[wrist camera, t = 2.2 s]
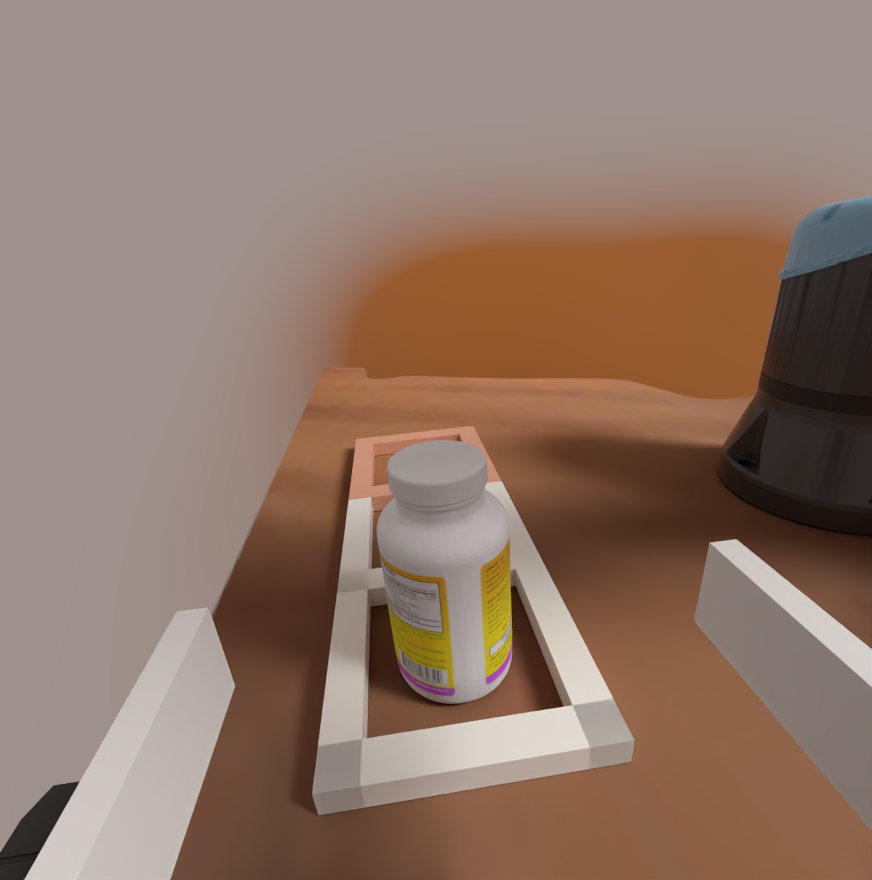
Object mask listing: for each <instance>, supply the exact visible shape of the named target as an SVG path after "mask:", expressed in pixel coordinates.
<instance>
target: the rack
mask: <svg viewBox="0 0 872 880" xmlns="http://www.w3.org/2000/svg"><path fill="white" fill-rule="evenodd" d="M435 440H452V441H461V442H465V443H468V444H471V445H474V446H476V447H477V448H479V449H480V450H481V451H482V452H483V453H484V454H485V457H486V463H487V476H488V479H487V483H486V486H485V490H487V491H489V492H490V493H492V494H493V495H494V496H495V497H496V498H497V499H498V500H499V501H500V502H501V503H502V505H503V506H504V508H505V510H506V512H507V515H508V520H509V532H510V576H511V587H514V586H516V588H517V590H518V593H519V595H520V598H521V601H522V603H523V606H524V608H525V611H526V613H527V616H528V618H529V621H530V623H531V626H532V628H533V631H534V633H535V636H536V638H537V641H538V643H539V646H540V648H541V651H542V653H543V656H544V659H545V661H546V664H547V666H548V669H549V671H550V674H551V676H552V679H553V681H554V684H555V686H556V689H557V691H558V694H559V696H560V699H561V701H562V704H563V706H564V707H559V708H553V709H546V710H540V711H534V712H528V713H522V714H515V715H509V716H503V717H497V718H490V719H484V720H478V721H472V722H466V723H459V724H453V725H447V726H441V727H435V728H428V729H422V730H416V731H410V732H403V733H397V734H391V735H385V736H379V737H372V738H367V718H368V681H369V645H370V608H371V606H378V605H385V604H388V603H387V597H386V590H385V584H384V578H383V572H382V568H375V569H372V535H373V511H380V510H383V509H384V508H385V506H386V505H387V504H388V503H389V502H390V501H391V500H392V499H393V498H394V496H393V494H392V493H391V491H390V489H389V484H388V485H379V486H374V461H375V456H378V455H386V454H395V453H397V452H398V451H400V450H401V449H404V448H406V447H409V446H411V445H414V444H418V443H422V442H427V441H435ZM633 746H634V738H633V736H632V734H631V733H630V731H629V729H628V727H627V725H626V723H625V721H624V719H623V717H622V715H621V713H620V711H619V709H618V707H617V705H616V703H615V701H614V699H613V697H612V695H611V694H610V692H609V690H608V688H607V686H606V684H605V682H604V680H603V678H602V676H601V674H600V672H599V670H598V668H597V666H596V664H595V662H594V660H593V658H592V657H591V655H590V653H589V651H588V649H587V647H586V645H585V643H584V641H583V639H582V637H581V635H580V633H579V631H578V629H577V627H576V625H575V623H574V621H573V619H572V618H571V616H570V614H569V612H568V610H567V608H566V606H565V604H564V602H563V600H562V598H561V596H560V594H559V592H558V590H557V588H556V586H555V584H554V582H553V580H552V579H551V577H550V575H549V573H548V571H547V569H546V567H545V565H544V563H543V561H542V559H541V557H540V555H539V553H538V551H537V549H536V547H535V545H534V543H533V541H532V540H531V538H530V536H529V534H528V532H527V530H526V528H525V526H524V524H523V522H522V520H521V518H520V516H519V514H518V512H517V510H516V508H515V506H514V504H513V502H512V501H511V499H510V497H509V495H508V493H507V491H506V489H505V487H504V485H503V483H502V481H501V479H500V477H499V475H498V473H497V471H496V469H495V467H494V465H493V463H492V462H491V460H490V458H489V456H488V454H487V452H486V450H485V448H484V446H483V444H482V442H481V440H480V438H479V436H478V434H477V432H476V430H475V428H474V426H468V427H459V428H451V429H442V430H433V431H424V432H415V433H407V434H398V435H389V436H380V437H371V438H363V439H356V445H355V453H354V461H353V469H352V477H351V485H350V493H349V501H348V509H347V517H346V525H345V533H344V541H343V549H342V557H341V565H340V573H339V581H338V589H337V597H336V605H335V614H334V622H333V630H332V638H331V646H330V654H329V662H328V670H327V678H326V686H325V694H324V702H323V710H322V718H321V726H320V734H319V742H318V750H317V758H316V766H315V774H314V782H313V790H312V796H313V799H314V803H315V806H316V809H317V813H318V816H319V815H324V814H330V813H336V812H342V811H348V810H353V809H359V808H365V807H371V806H377V805H383V804H388V803H394V802H400V801H406V800H412V799H417V798H423V797H429V796H435V795H441V794H447V793H452V792H458V791H464V790H470V789H476V788H481V787H487V786H493V785H499V784H505V783H511V782H516V781H522V780H528V779H534V778H540V777H546V776H551V775H557V774H563V773H569V772H575V771H580V770H586V769H592V768H598V767H604V766H610V765H615V764H621V763H627V762H631V760H632V753H633Z"/></svg>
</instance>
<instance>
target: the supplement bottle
mask: <svg viewBox="0 0 872 880" xmlns="http://www.w3.org/2000/svg"><path fill="white" fill-rule="evenodd" d="M387 471H388V479H389V489H390V491H391V493H392V494H393V496H394V498H393V499H392V500H391V501H390V502H389V503H388V504H387V505H386V506H385V508H384V509H383V511H382V513H381V515H380V517H379V520H378V523H377V540H378V548H379V554H380V560H381V566H382V572H383V578H384V584H385V590H386V597H387V603H388V609H389V615H390V622H391V627H392V633H393V639H394V645H395V651H396V656H397V661H398V665H399V668H400V671H401V673H402V675H403V677H404V679H405V680H406V682H407V683H408V684H409V685H410V686H411V687H412V688H413V689H414V690H415V691H416V692H417V693H419V694H420V695H422V696H424V697H426V698H428V699H430V700H433V701H436V702H440V703H446V704H459V703H466V702H470V701H473V700H476V699H479V698H481V697H483V696H485V695H487V694H488V693H490V692H491V691H493V690H494V689H495V688H496V687H497V686H498V685H499V684H500V683H501V681H502V680H503V679H504V677H505V676H506V674H507V672H508V669H509V667H510V663H511V659H512V614H511V576H510V532H509V520H508V515H507V512H506V510H505V508H504V506H503V505H502V503H501V502H500V501H499V500H498V499H497V498H496V497H495V496H494V495H493V494H492V493H490V492H489V491H487V490H485V486H486V483H487V479H488V476H487V463H486V457H485V454H484V453H483V452H482V451H481V450H480V449H479V448H477V447H476V446H474V445H471V444H468V443H465V442H461V441H452V440H435V441H427V442H422V443H418V444H414V445H411V446H409V447H406V448H404V449H401V450H400V451H398V452H397V453H395V454H394V455H393V456H392V457H391V458H390V460H389V462H388V465H387Z"/></svg>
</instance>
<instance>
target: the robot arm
mask: <svg viewBox="0 0 872 880" xmlns="http://www.w3.org/2000/svg"><path fill="white" fill-rule="evenodd" d="M778 279H782V282H781V286H780V290H779V295H778V299H777V304H776V308H775V312H774V317H773V322H772V326H771V330H770V335H769V339H768V344H767V348H766V352H765V357H764V361H763V365H762V371H761V375H760V380H759V384H758V388H757V392H756V394H755V396H754V398H753V399H752V401H751V402H750V404H749V405H748V407H747V409H746V410H745V412H744V413H743V415H742V416H741V418H740V419H739V421H738V423H737V424H736V426H735V427H734V429H733V430H732V432H731V433H730V435H729V437H728V438H727V440H726V441H725V443H724V445H723V447H722V450H721V455H720V460H719V465H718V473H719V476H720V478H721V480H722V481H723V482H724V484H725V485H726V486H727V487H728V488H729V489H730V490H732V491H733V492H734V493H736V494H737V495H738V496H740V497H741V498H743V499H745V500H746V501H748V502H750V503H752V504H754V505H756V506H758V507H760V508H762V509H764V510H767V511H769V512H772V513H774V514H777V515H779V516H782V517H785V518H788V519H791V520H794V521H798V522H801V523H805V524H808V525H812V526H816V527H821V528H825V529H830V530H836V531H842V532H848V533H856V534H866V535H872V196H868V197H862V198H857V199H852V200H847V201H843V202H838V203H833V204H828V205H825V206H821V207H819V208H817V209H815V210H813V211H811V212H810V213H808V214H807V215H806V216H804V217H803V218H802V219H801V220H800V222H799V223H798V224H797V226H796V228H795V230H794V232H793V235H792V238H791V242H790V246H789V249H788V253H787V256H786V260H785V264H784V267H783V270H781V271H780V273H779V277H778ZM694 622H695V623H696V624H697V625H698V626H699V627H700V629H701V630H702V631H703V632H704V633H705V635H706V636H707V637H708V638H709V639H710V640H711V642H712V643H713V644H714V645H715V646H716V648H717V649H718V650H719V651H720V652H721V654H722V655H723V656H724V657H725V658H726V659H727V661H728V662H729V663H730V664H731V665H732V667H733V668H734V669H735V670H736V671H737V672H738V674H739V675H740V676H741V677H742V678H743V680H744V681H745V682H746V683H747V684H748V685H749V687H750V688H751V689H752V690H753V691H754V693H755V694H756V695H757V696H758V697H759V698H760V700H761V701H762V702H763V703H764V704H765V706H766V707H767V708H768V709H769V710H770V712H771V713H772V714H773V715H774V716H775V717H776V719H777V720H778V721H779V722H780V723H781V725H782V726H783V727H784V728H785V729H786V730H787V732H788V733H789V734H790V735H791V736H792V738H793V739H794V740H795V741H796V742H797V743H798V745H799V746H800V747H801V748H802V749H803V751H804V752H805V753H806V754H807V755H808V756H809V758H810V759H811V760H812V761H813V762H814V764H815V765H816V766H817V767H818V768H819V770H820V771H821V772H822V773H823V774H824V775H825V777H826V778H827V779H828V780H829V781H830V783H831V784H832V785H833V786H834V787H835V788H836V790H837V791H838V792H839V793H840V794H841V796H842V797H843V798H844V799H845V800H846V801H847V803H848V804H849V805H850V806H851V807H852V809H853V810H854V811H855V812H856V813H857V815H858V816H859V817H860V818H861V819H862V820H863V822H864V823H865V824H866V825H867V826H868V828H869V829H870V830H871V831H872V649H871V648H869V647H868V646H867V645H866V644H865V643H863V642H862V641H861V640H860V639H858V638H857V637H856V636H855V635H853V634H852V633H851V632H850V631H849V630H847V629H846V628H845V627H844V626H842V625H841V624H840V623H839V622H837V621H836V620H835V619H834V618H833V617H831V616H830V615H829V614H828V613H826V612H825V611H824V610H823V609H821V608H820V607H819V606H818V605H817V604H815V603H814V602H813V601H812V600H810V599H809V598H808V597H807V596H805V595H804V594H803V593H802V592H801V591H799V590H798V589H797V588H796V587H794V586H793V585H792V584H791V583H789V582H788V581H787V580H786V579H785V578H783V577H782V576H781V575H780V574H778V573H777V572H776V571H775V570H773V569H772V568H771V567H770V566H769V565H767V564H766V563H765V562H764V561H762V560H761V559H760V558H759V557H758V556H756V555H755V554H754V553H753V552H751V551H750V550H749V549H748V548H746V547H745V546H744V545H743V544H742V543H740V542H739V541H738V540H737V539H734V540H727V541H719V542H711V543H709V548H708V553H707V558H706V563H705V568H704V573H703V578H702V583H701V588H700V593H699V598H698V603H697V608H696V613H695V618H694ZM234 688H235V684H234V681H233V678H232V675H231V672H230V669H229V666H228V664H227V661H226V658H225V655H224V652H223V649H222V646H221V643H220V640H219V637H218V634H217V631H216V628H215V625H214V622H213V619H212V616H211V613H210V610H209V608H208V607H206V608H199V609H191V610H183V611H176V613H175V615H174V617H173V618H172V620H171V622H170V624H169V625H168V627H167V629H166V631H165V633H164V634H163V636H162V638H161V640H160V642H159V643H158V645H157V647H156V648H155V650H154V652H153V654H152V656H151V657H150V659H149V661H148V662H147V664H146V666H145V668H144V670H143V671H142V673H141V675H140V677H139V678H138V680H137V682H136V684H135V686H134V687H133V689H132V691H131V692H130V694H129V696H128V698H127V700H126V701H125V703H124V705H123V707H122V708H121V711H120V712H119V714H118V715H117V717H116V719H115V721H114V723H113V724H112V726H111V728H110V730H109V731H108V733H107V735H106V737H105V738H104V740H103V742H102V744H101V746H100V747H99V749H98V751H97V753H96V754H95V756H94V758H93V760H92V761H91V763H90V765H89V767H88V768H87V770H86V772H85V774H84V776H83V777H82V779H81V781H80V782H73V783H67V784H60V785H54V786H53V787H52V788H51V789H50V790H49V791H48V792H47V793H46V794H45V795H44V796H43V797H42V798H41V799H40V800H39V801H38V802H37V803H36V805H35V806H34V807H33V808H32V809H31V810H30V811H29V812H28V813H27V814H26V815H25V816H24V817H23V818H22V819H21V821H20V822H19V824H18V825H17V827H16V829H15V830H14V832H13V833H12V835H11V837H10V838H9V840H8V842H7V843H6V845H5V846H4V848H3V849H2V851H1V852H0V880H170V879H171V876H172V873H173V870H174V867H175V864H176V861H177V858H178V855H179V852H180V849H181V846H182V843H183V840H184V837H185V834H186V831H187V828H188V825H189V822H190V819H191V816H192V813H193V810H194V807H195V804H196V801H197V798H198V795H199V792H200V789H201V786H202V783H203V780H204V777H205V774H206V771H207V768H208V765H209V762H210V759H211V756H212V753H213V750H214V747H215V744H216V741H217V738H218V735H219V732H220V729H221V726H222V723H223V720H224V718H225V715H226V712H227V709H228V706H229V703H230V700H231V697H232V694H233V691H234Z"/></svg>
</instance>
